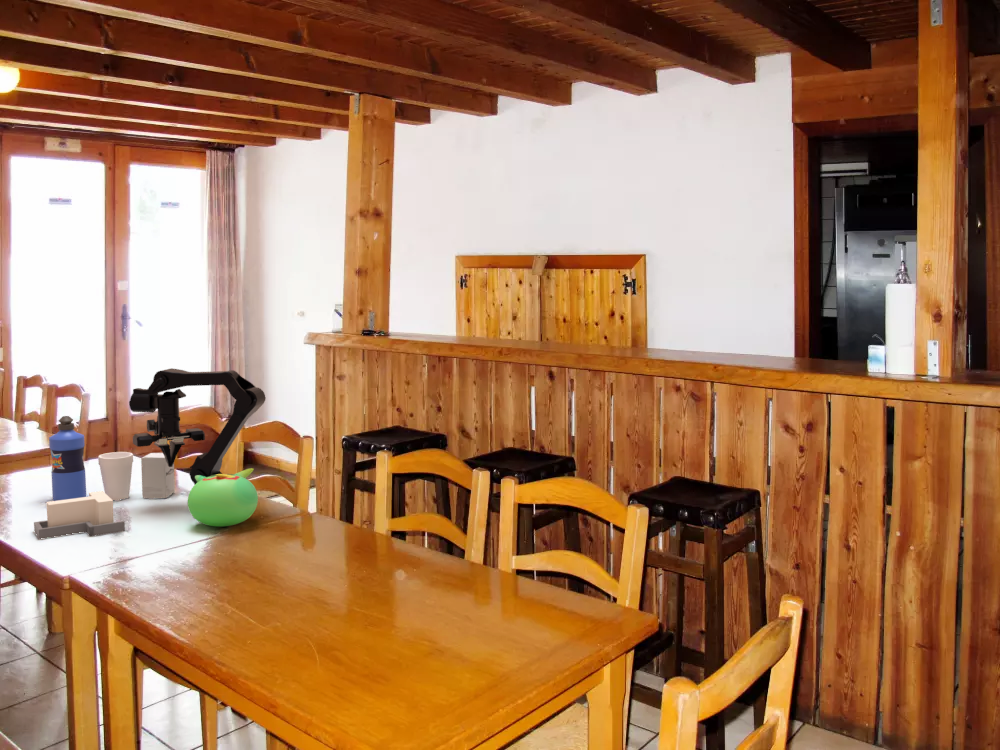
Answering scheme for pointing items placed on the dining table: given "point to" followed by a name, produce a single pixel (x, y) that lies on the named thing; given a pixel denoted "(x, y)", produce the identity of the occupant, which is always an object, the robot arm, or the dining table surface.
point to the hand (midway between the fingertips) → (170, 466)
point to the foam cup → (116, 474)
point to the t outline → (77, 529)
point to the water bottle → (67, 462)
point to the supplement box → (157, 476)
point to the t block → (81, 510)
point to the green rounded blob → (223, 499)
